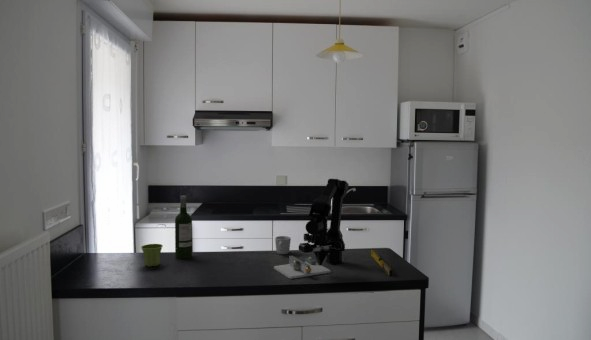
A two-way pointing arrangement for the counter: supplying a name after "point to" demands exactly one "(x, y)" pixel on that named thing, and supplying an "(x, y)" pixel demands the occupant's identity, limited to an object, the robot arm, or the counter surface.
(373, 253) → the spirit level
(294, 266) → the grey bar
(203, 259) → the counter surface
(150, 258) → the plant pot
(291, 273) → the white mechanism board
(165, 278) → the counter surface
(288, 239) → the cup
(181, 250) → the wine bottle
